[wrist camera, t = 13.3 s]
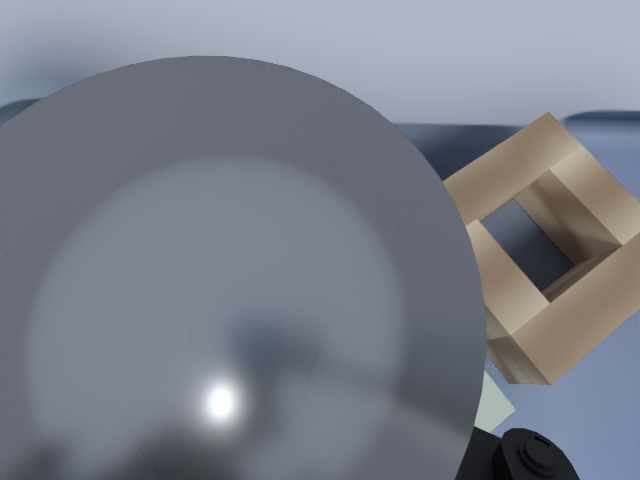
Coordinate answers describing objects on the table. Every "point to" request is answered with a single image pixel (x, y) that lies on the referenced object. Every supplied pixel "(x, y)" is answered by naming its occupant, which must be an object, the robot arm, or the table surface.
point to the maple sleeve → (570, 237)
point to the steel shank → (230, 284)
